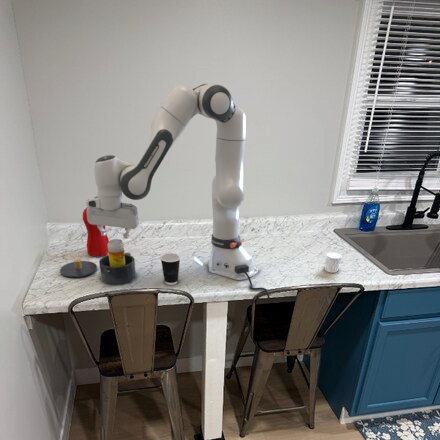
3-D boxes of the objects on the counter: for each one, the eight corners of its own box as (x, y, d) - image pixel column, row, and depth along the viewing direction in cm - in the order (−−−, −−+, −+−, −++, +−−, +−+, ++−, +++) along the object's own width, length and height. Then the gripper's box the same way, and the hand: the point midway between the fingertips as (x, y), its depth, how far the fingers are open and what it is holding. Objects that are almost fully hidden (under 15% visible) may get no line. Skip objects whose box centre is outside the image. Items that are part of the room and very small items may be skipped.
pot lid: (103, 266, 173) (102, 256, 171) (85, 280, 161) (83, 270, 158) (73, 261, 176) (72, 251, 174) (53, 275, 164) (51, 265, 162)
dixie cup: (171, 275, 167) (170, 251, 161) (185, 281, 163) (184, 256, 157) (157, 282, 161) (155, 257, 156) (171, 288, 157) (170, 263, 152)
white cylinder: (330, 274, 173) (332, 259, 169) (319, 268, 178) (322, 253, 174) (342, 271, 175) (345, 256, 172) (331, 265, 181) (334, 250, 177)
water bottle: (114, 248, 190) (108, 196, 177) (104, 258, 180) (98, 203, 168) (95, 247, 191) (88, 194, 179) (85, 256, 181) (77, 201, 169)
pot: (143, 269, 171) (142, 253, 167) (122, 290, 155) (121, 272, 151) (115, 265, 174) (113, 249, 170) (91, 284, 158) (88, 267, 154)
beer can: (122, 280, 161) (119, 245, 154) (108, 278, 162) (104, 243, 155) (128, 273, 166) (125, 239, 159) (115, 271, 167) (111, 238, 160)
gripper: (140, 201, 150) (143, 236, 156) (91, 197, 154) (96, 231, 161) (132, 206, 144) (136, 242, 151) (82, 201, 149) (87, 236, 156)
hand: (115, 236), depth 156 cm, fingers open, 8 cm apart
